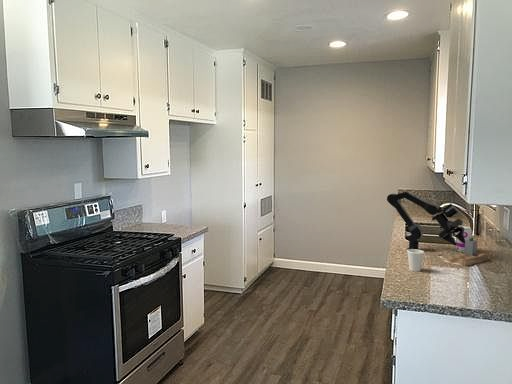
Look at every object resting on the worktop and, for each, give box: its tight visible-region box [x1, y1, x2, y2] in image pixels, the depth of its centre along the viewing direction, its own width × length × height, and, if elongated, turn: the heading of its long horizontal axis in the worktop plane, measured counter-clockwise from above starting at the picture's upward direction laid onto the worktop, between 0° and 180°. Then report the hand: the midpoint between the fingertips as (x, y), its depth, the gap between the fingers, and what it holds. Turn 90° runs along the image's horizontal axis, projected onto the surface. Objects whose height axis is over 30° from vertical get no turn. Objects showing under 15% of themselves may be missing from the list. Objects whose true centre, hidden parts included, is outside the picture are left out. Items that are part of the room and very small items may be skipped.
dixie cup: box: [406, 249, 425, 272], centre depth 223 cm, size 8×8×10 cm
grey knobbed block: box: [464, 236, 478, 256], centre depth 243 cm, size 4×4×12 cm
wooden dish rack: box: [440, 252, 489, 267], centre depth 240 cm, size 14×24×5 cm, turn 125°
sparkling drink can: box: [455, 225, 473, 253], centre depth 264 cm, size 8×8×15 cm
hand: (460, 244), depth 248 cm, fingers open, 9 cm apart
